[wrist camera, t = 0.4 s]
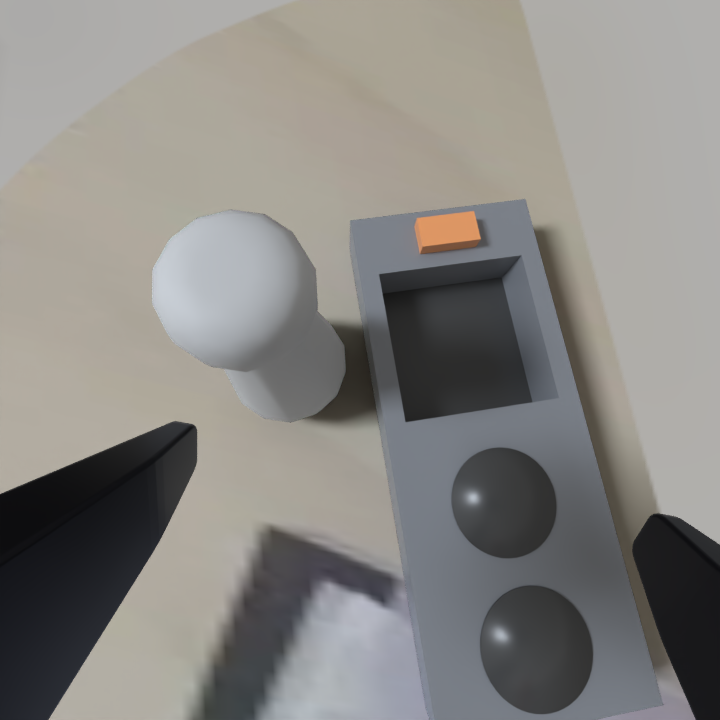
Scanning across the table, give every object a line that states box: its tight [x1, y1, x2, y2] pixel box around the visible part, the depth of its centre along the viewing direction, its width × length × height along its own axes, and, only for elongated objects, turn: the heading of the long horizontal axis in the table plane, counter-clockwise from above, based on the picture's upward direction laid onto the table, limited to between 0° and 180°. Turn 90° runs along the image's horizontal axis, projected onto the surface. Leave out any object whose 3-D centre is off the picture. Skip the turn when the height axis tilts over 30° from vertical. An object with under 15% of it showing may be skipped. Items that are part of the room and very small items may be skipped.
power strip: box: [350, 199, 663, 720], centre depth 20 cm, size 31×10×4 cm, turn 9°
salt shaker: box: [152, 210, 346, 423], centre depth 16 cm, size 6×6×13 cm
